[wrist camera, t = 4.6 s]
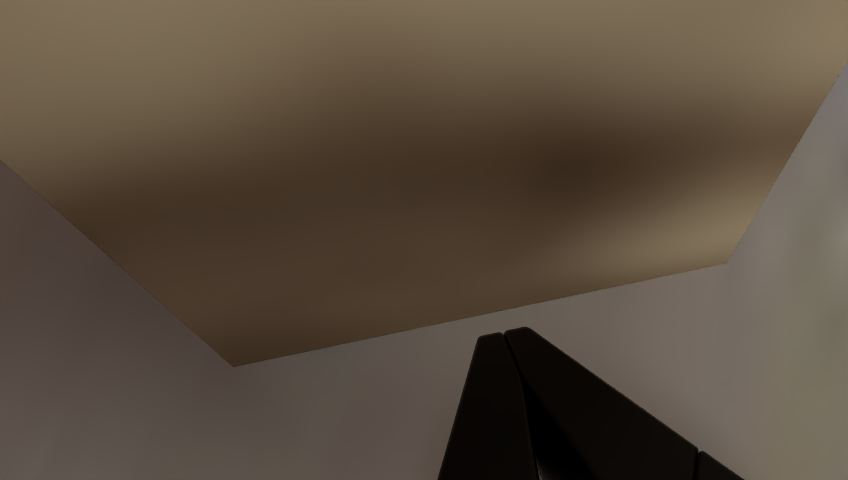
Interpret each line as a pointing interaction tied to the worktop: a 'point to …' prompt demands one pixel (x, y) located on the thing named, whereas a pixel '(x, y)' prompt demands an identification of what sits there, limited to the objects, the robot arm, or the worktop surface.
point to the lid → (405, 148)
